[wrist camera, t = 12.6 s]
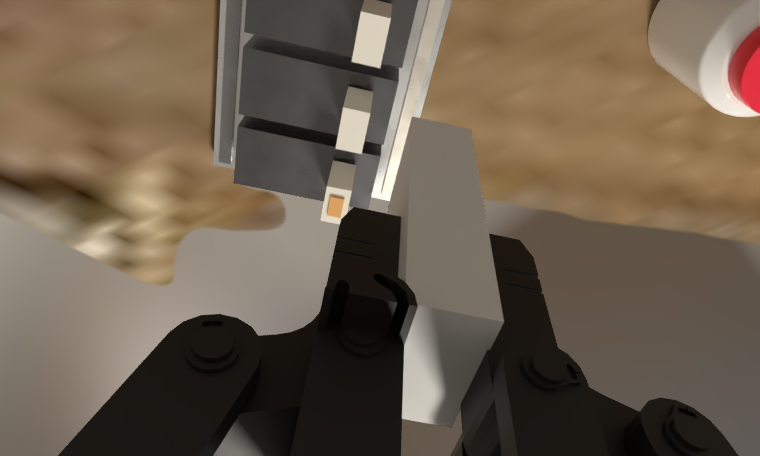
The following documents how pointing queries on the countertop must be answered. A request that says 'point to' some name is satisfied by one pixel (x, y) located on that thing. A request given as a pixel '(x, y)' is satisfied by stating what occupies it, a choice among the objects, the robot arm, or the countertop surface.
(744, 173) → the countertop surface
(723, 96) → the pill bottle
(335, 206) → the handle
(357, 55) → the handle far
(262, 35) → the panel
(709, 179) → the countertop surface
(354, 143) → the handle mid
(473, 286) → the robot arm
